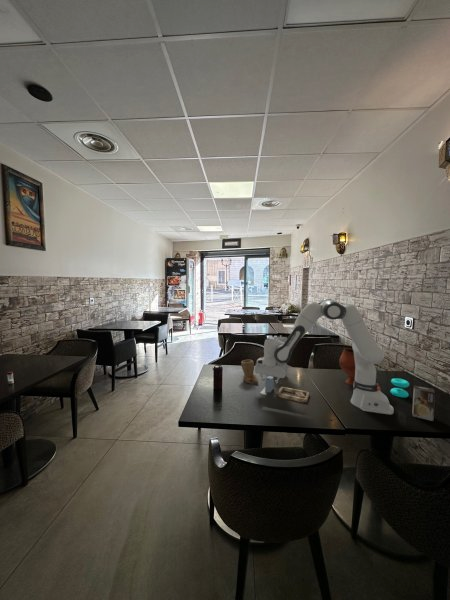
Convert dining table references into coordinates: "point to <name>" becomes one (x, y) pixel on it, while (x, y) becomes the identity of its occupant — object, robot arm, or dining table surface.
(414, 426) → the dining table surface
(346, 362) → the terracotta vase
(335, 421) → the dining table surface
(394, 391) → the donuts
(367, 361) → the robot arm
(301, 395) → the offcut upper
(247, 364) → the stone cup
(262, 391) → the mat
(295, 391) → the wooden tray
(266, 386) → the blue grey block
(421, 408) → the grey picture frame
